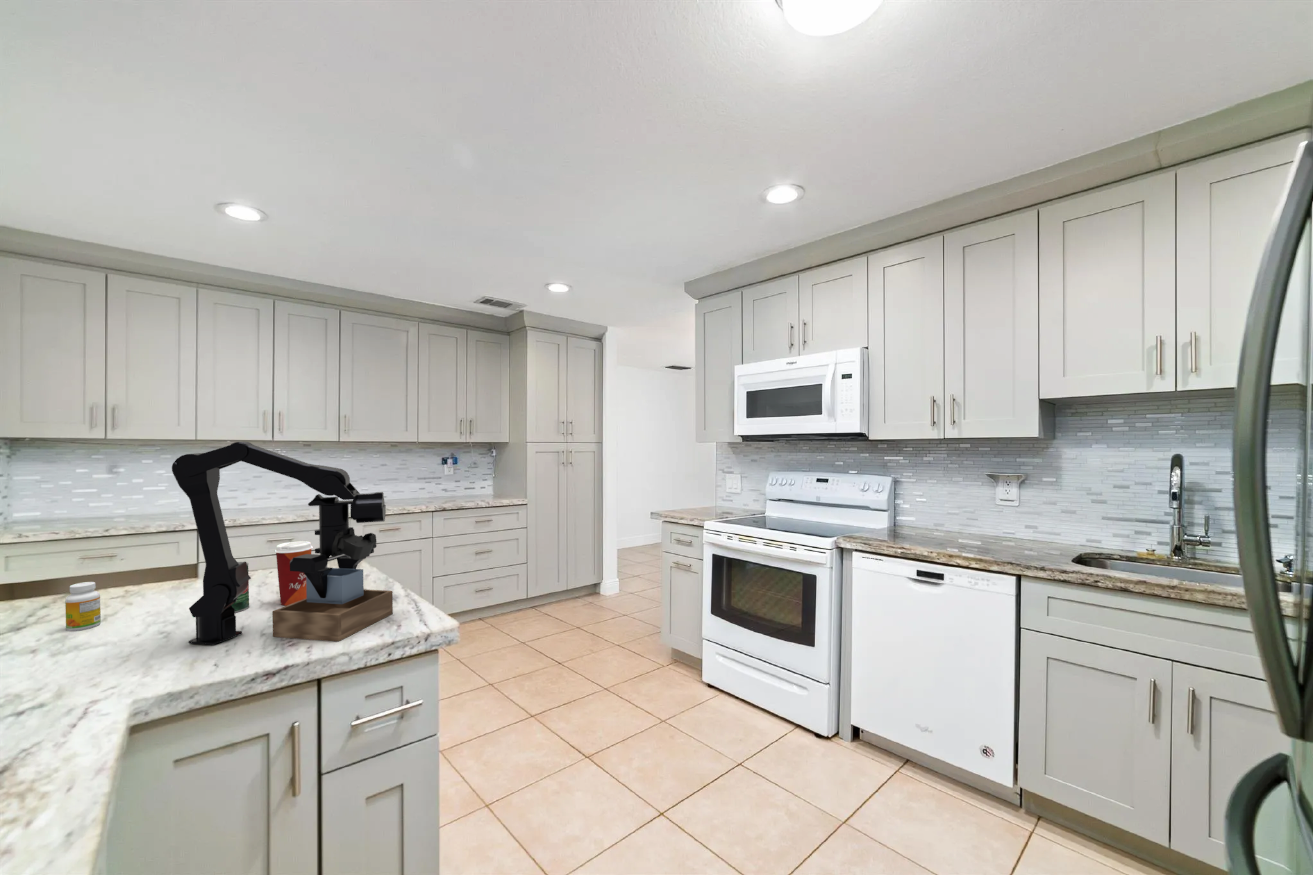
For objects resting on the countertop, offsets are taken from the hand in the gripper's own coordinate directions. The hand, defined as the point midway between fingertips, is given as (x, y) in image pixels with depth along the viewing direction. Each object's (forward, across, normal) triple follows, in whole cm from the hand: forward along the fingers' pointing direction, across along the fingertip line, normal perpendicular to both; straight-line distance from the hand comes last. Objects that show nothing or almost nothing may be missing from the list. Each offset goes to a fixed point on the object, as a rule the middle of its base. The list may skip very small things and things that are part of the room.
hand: (335, 593), depth 121 cm
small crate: (+1, 0, 0) cm, 1 cm away
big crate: (+7, 0, 0) cm, 7 cm away
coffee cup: (+7, +13, +23) cm, 27 cm away
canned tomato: (+8, +5, +34) cm, 35 cm away
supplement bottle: (+8, -10, +56) cm, 57 cm away
